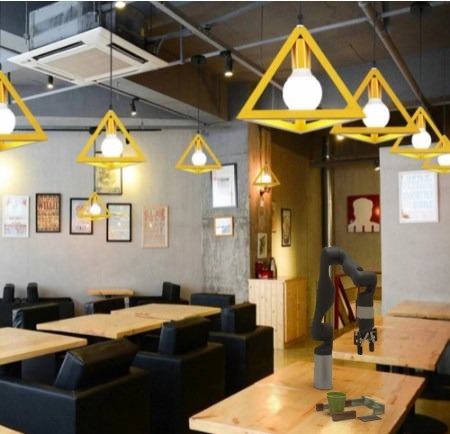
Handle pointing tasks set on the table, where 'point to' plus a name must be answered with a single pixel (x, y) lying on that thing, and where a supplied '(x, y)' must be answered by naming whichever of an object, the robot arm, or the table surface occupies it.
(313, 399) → the table surface
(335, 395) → the plant pot
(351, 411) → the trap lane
